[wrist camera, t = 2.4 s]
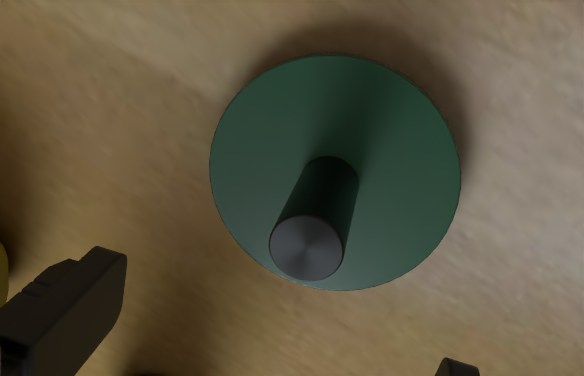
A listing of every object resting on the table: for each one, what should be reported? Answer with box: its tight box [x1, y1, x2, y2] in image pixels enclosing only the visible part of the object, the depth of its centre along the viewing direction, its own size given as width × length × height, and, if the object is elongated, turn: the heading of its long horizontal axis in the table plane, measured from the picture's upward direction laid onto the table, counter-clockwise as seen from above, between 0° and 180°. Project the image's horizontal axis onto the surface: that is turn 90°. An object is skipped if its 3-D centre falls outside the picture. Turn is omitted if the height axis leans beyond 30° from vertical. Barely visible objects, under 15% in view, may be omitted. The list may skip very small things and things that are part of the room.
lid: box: [209, 53, 461, 291], centre depth 20 cm, size 10×10×7 cm
